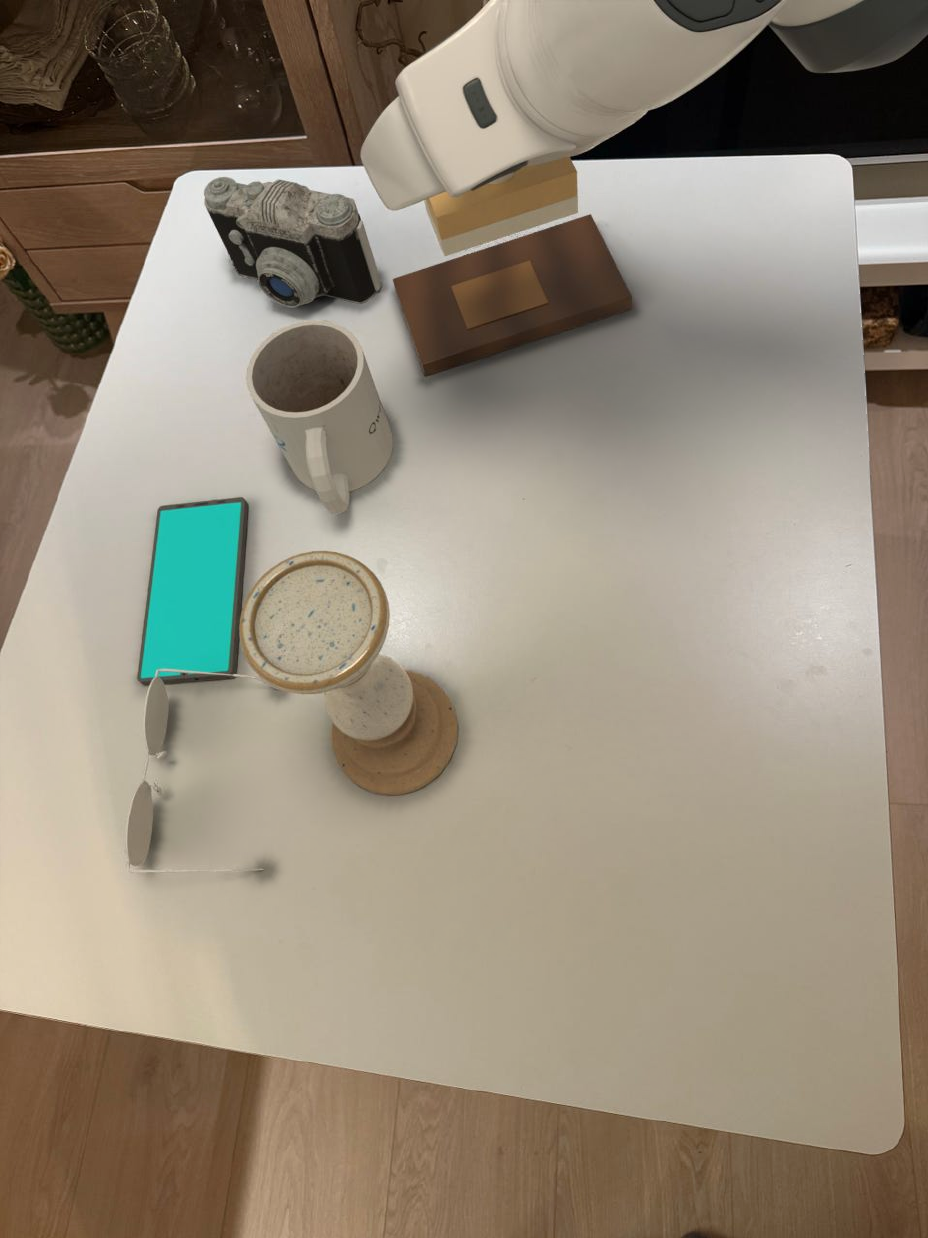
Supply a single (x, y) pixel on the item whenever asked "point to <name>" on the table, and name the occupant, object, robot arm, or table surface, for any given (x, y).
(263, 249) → the camera
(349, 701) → the candle holder
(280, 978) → the table surface
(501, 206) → the pillar on tan base
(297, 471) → the mug
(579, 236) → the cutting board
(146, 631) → the smartphone
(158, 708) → the sunglasses
